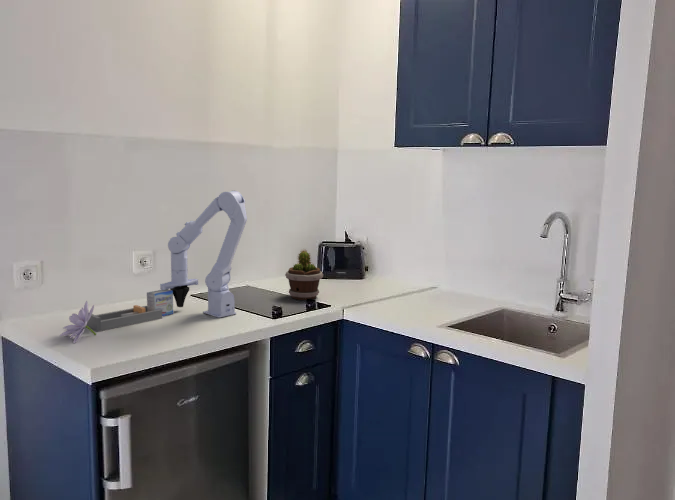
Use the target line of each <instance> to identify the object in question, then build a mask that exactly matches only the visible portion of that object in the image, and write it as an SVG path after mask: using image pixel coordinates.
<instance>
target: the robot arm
mask: <svg viewBox="0 0 675 500" xmlns="http://www.w3.org/2000/svg"><path fill="white" fill-rule="evenodd" d="M245 204H246V200H245V198H244V196H243V195H242V193H241V192H239V191H238V190H231V191H223V192H221V193H219V195H218V196H217V197H215V198H214V199H213V200H212V201H211V202H210V204H209V205H207V207H206V208H205V209H204V210H203V211H202V213H201V214H200V215H199V216H198V217H197V218H196V220H190V221H186V222H185V223H184V227H183V228H182V229H181V230H179V231H177V232H176V233H175V235H176V236H172V237H171V238H169V240H168V243H167V248H168V250H169V251H170V272H171V273H170V275H171V276H170V279H171V280H170V281H167V282H164V283H160V285H159V287H160V289H159V290H166V289H169V290H172V291H173V299H174V300H175V303H176V307H177V308H184V305H185V300H186V298H187V295H188V293H189V292H190V287H189V286H194V285H195V286H198V285H199V279H197V278H191V279H190V278H188V277H189V276H188V274H189V271H188V268H189V267H188V250H189V249H190V246H191V244H192V243H193V242H194V241H195V240H197V239H198V237H199V236H200V235H201V234H202V233H203V228H204V226H205V225H206V224H207V223H209V221H210V220H211V219H213V217H214V216H215V215H217V214H218V213H220V212H224V213H225V214H226V215H227V216H228V218H229V221H230V222H229V225H228V229H227V231H226V233H225V237H224V240H223V242H222V246H221V248H220V250H219V253H218V256H217V260H216V262H215V263H214V265H213V266H212V268H211V270H210V272H209V273H208V274H207V275H206V277H205V279H204V283H205V285H206V287H207V310H204V311H202V313H203V314H207V315H209V316H212V317H215V318H223V317H227V316H232V315H237V312H235V310H236V309H235V306H236V305H235V295H234V293H233V292H231V291H230V289H229V285H228V284H229V283H230V282H231V270H232V262H233V260H234V257H235V254H236V251H237V249H238V245H239V243H240V240H241V238H242V235H243V233H244V230H245V226H246V224H247V222H248V216H247V209H246V205H245Z"/></svg>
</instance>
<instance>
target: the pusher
mask: <svg viewBox="0 0 675 500" xmlns="http://www.w3.org/2000/svg"><path fill="white" fill-rule="evenodd" d="M133 311H134V312H132V313H127V314H121V317H123V316H128V315H133V314H138V313H144V312H146V311H145V308H144V307H142V306H140V305H137V304H136V305H133Z"/></svg>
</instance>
